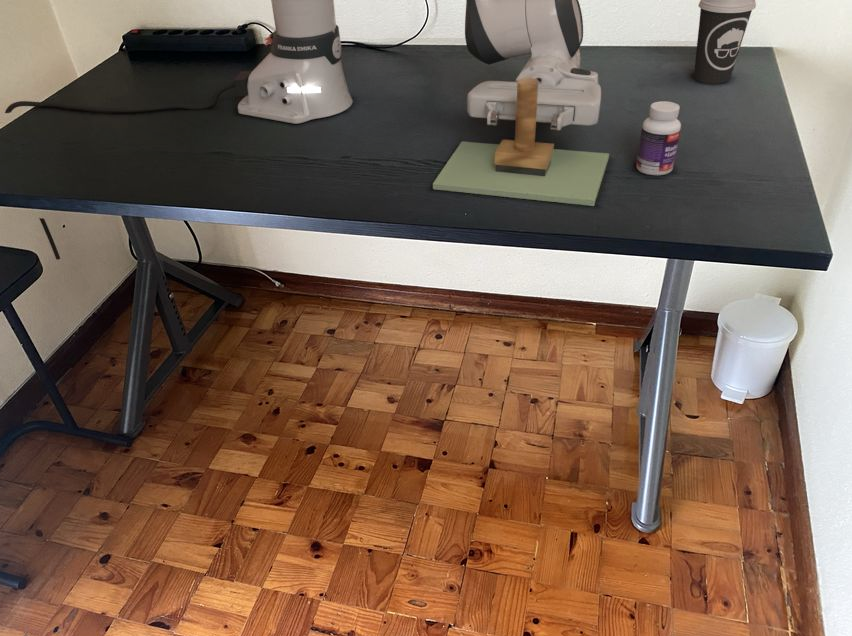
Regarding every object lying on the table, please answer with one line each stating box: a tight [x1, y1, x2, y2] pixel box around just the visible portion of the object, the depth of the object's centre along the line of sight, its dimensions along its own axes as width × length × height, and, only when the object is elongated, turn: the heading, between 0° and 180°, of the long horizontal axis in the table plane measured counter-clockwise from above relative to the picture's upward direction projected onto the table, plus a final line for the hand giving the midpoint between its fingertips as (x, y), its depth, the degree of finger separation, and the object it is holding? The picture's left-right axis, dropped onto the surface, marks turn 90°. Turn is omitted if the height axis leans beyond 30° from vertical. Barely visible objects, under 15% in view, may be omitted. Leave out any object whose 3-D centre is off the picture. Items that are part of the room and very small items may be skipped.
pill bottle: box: [635, 100, 682, 176], centre depth 108 cm, size 5×5×10 cm
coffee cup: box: [693, 0, 757, 85], centre depth 135 cm, size 10×10×15 cm
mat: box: [432, 141, 610, 207], centre depth 113 cm, size 24×16×1 cm, turn 70°
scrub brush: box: [494, 78, 555, 176], centre depth 108 cm, size 8×5×13 cm, turn 69°
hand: (523, 122), depth 107 cm, fingers open, 8 cm apart
